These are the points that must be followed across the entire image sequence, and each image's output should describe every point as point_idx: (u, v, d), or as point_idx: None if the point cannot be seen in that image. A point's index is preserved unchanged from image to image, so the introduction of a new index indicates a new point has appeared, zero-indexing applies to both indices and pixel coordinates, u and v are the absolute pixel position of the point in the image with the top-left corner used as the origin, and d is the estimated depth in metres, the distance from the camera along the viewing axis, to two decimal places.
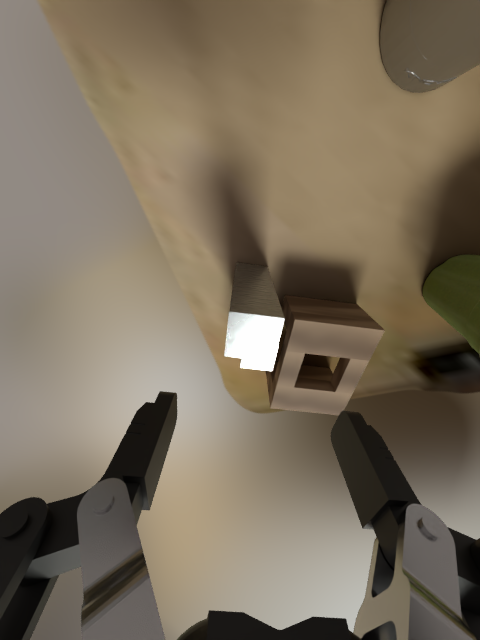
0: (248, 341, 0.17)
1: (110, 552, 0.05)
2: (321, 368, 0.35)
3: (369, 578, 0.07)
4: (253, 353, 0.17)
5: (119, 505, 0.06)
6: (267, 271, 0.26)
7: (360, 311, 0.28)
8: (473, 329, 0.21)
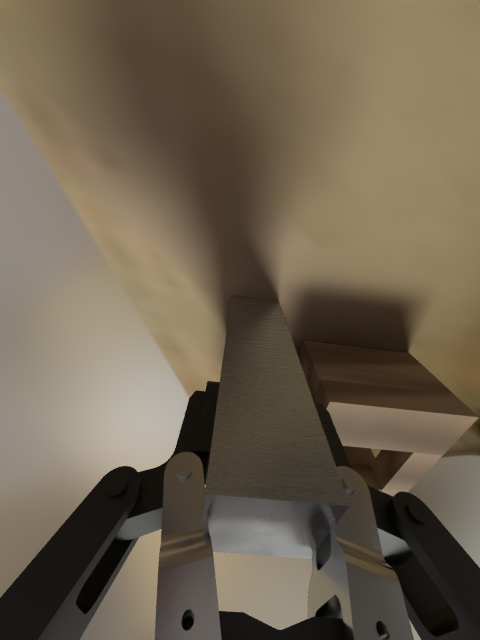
0: (254, 535, 0.07)
1: (184, 516, 0.06)
2: None
3: (312, 550, 0.07)
4: (264, 548, 0.08)
5: (198, 474, 0.07)
6: (280, 314, 0.16)
7: (421, 370, 0.18)
8: None
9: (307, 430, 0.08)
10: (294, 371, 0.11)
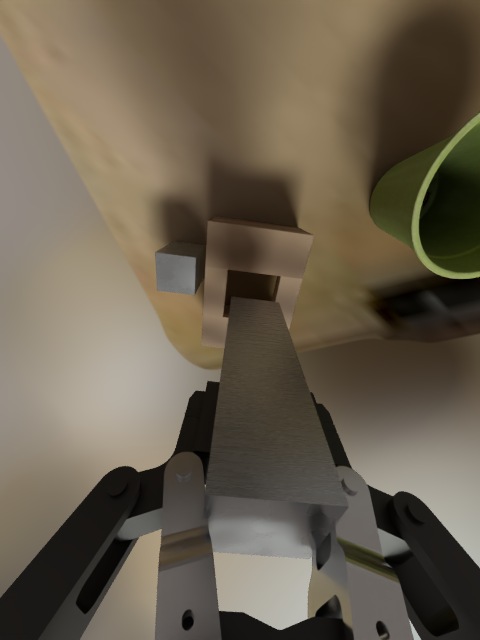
0: (254, 535, 0.07)
1: (184, 516, 0.06)
2: None
3: (312, 550, 0.07)
4: (264, 549, 0.08)
5: (198, 474, 0.07)
6: (280, 314, 0.16)
7: (297, 229, 0.25)
8: (407, 217, 0.18)
9: (307, 431, 0.08)
10: (294, 372, 0.11)
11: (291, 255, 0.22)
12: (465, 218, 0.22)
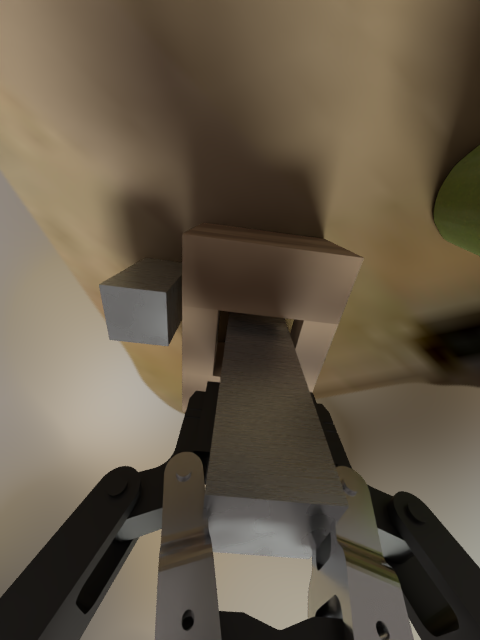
0: (254, 535, 0.07)
1: (184, 516, 0.06)
2: None
3: (312, 550, 0.07)
4: (263, 548, 0.08)
5: (198, 474, 0.07)
6: None
7: (326, 242, 0.16)
8: None
9: (307, 431, 0.08)
10: (294, 372, 0.11)
11: (323, 289, 0.13)
12: None
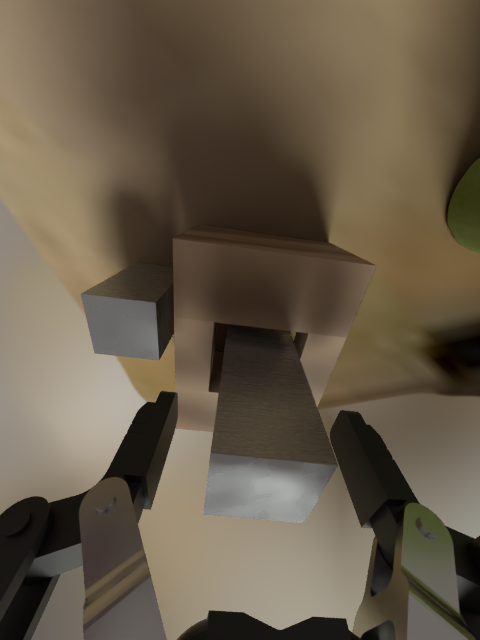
0: (253, 496, 0.08)
1: (112, 551, 0.05)
2: None
3: (368, 577, 0.07)
4: (262, 511, 0.08)
5: (121, 504, 0.06)
6: None
7: (332, 247, 0.15)
8: None
9: (302, 406, 0.09)
10: (291, 357, 0.12)
11: (330, 300, 0.12)
12: None
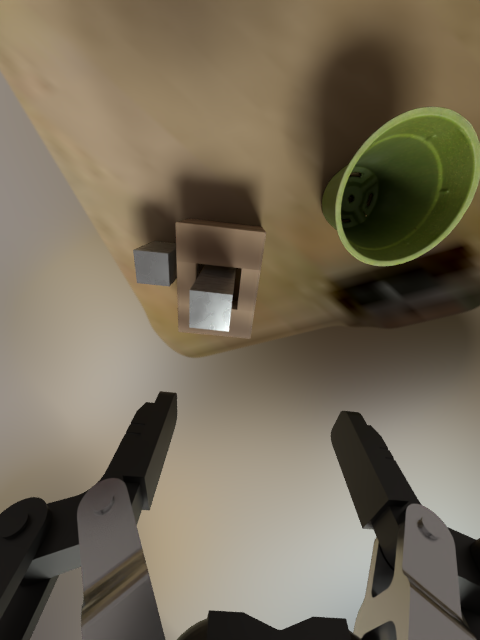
0: (207, 314, 0.21)
1: (110, 552, 0.05)
2: None
3: (369, 578, 0.07)
4: (211, 324, 0.22)
5: (119, 505, 0.06)
6: None
7: (258, 228, 0.28)
8: None
9: (227, 286, 0.22)
10: (230, 277, 0.25)
11: (248, 250, 0.25)
12: (397, 215, 0.25)
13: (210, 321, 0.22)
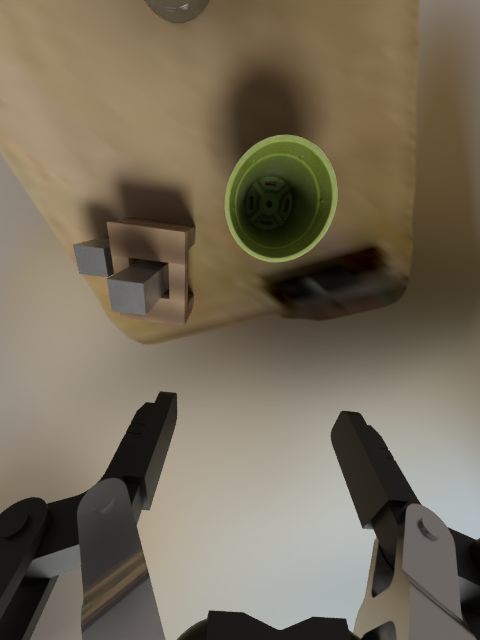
0: (125, 300, 0.26)
1: (110, 552, 0.05)
2: None
3: (369, 578, 0.07)
4: (130, 308, 0.26)
5: (119, 505, 0.06)
6: None
7: (187, 228, 0.33)
8: None
9: (145, 276, 0.27)
10: (156, 269, 0.29)
11: (172, 247, 0.30)
12: (300, 220, 0.30)
13: (128, 306, 0.26)
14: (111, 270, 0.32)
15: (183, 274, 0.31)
